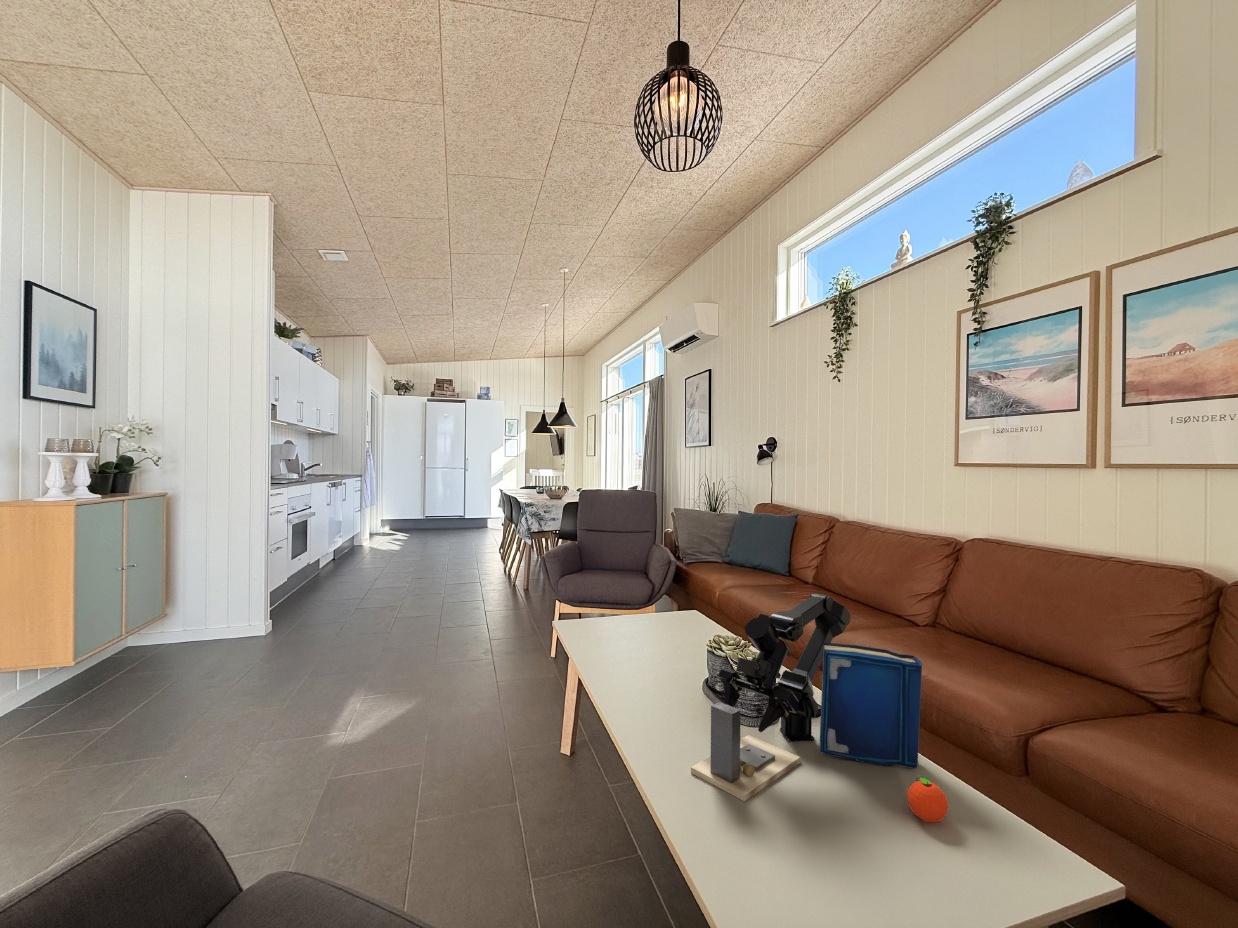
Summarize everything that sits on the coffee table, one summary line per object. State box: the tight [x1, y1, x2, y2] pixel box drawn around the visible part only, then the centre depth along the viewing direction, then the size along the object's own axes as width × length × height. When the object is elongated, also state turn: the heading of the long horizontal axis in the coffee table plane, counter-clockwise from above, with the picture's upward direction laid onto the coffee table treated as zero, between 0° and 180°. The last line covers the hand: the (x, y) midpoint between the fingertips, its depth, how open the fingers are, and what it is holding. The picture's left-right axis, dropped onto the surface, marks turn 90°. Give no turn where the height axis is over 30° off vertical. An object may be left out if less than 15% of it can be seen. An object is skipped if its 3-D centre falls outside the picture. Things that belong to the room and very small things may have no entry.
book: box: [819, 642, 923, 769], centre depth 130 cm, size 22×7×25 cm, turn 71°
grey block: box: [710, 701, 743, 784], centre depth 121 cm, size 6×6×14 cm
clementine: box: [906, 777, 949, 823], centre depth 108 cm, size 8×7×7 cm
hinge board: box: [690, 734, 801, 802], centre depth 125 cm, size 22×14×3 cm, turn 133°
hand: (741, 723), depth 124 cm, fingers open, 9 cm apart
